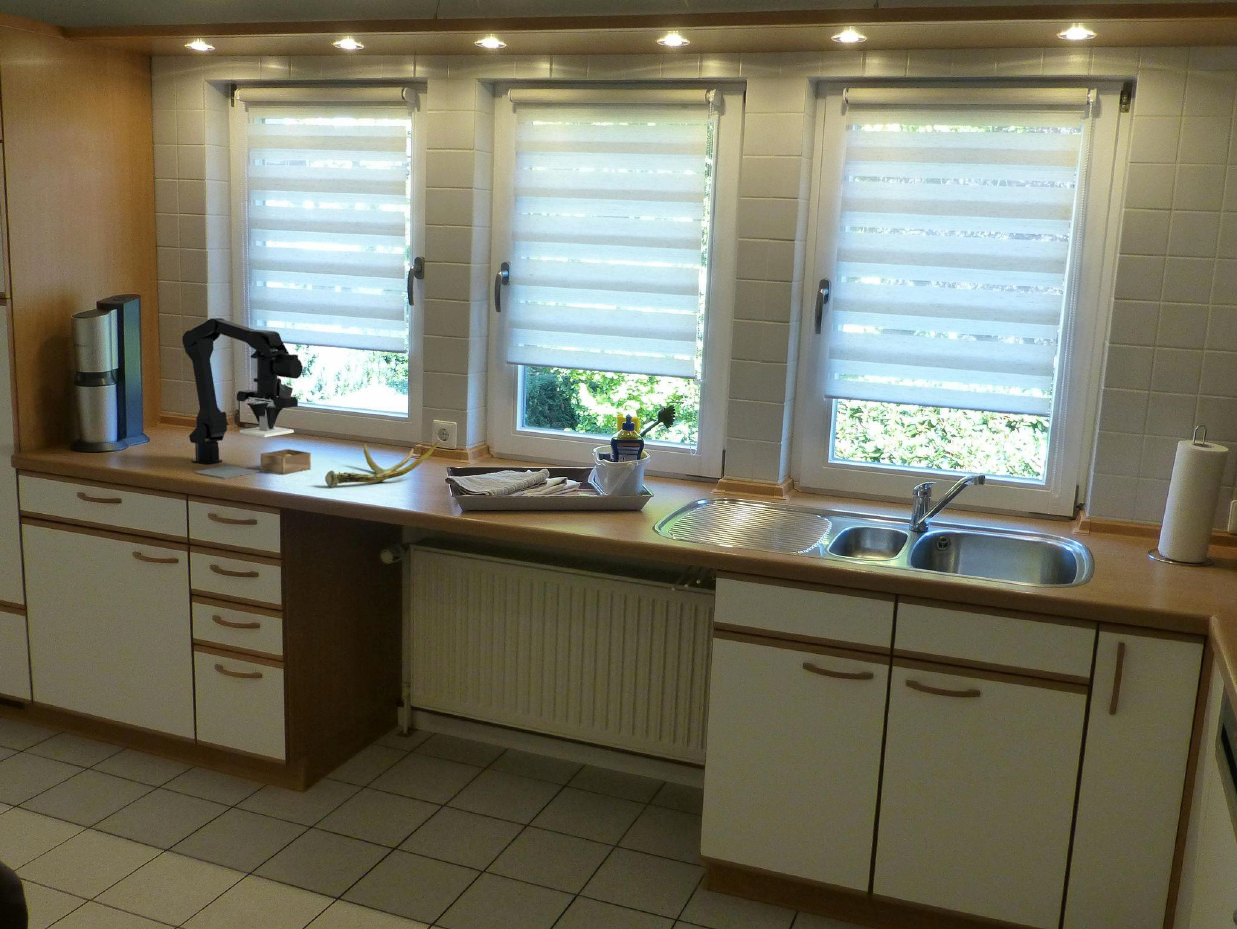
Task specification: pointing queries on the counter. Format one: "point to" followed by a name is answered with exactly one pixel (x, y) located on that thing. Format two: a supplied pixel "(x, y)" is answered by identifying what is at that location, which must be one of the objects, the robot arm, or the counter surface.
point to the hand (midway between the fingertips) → (266, 428)
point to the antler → (376, 470)
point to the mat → (226, 471)
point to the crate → (285, 461)
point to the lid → (266, 429)
